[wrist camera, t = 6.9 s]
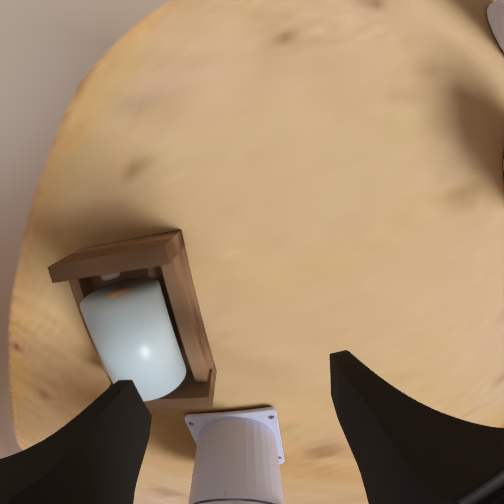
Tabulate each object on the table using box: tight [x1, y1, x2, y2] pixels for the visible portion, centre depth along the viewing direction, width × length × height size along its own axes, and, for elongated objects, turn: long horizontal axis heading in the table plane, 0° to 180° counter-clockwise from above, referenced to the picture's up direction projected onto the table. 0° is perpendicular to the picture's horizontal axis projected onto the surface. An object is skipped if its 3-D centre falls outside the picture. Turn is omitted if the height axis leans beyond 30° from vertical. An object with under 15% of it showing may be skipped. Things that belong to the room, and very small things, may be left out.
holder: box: [48, 230, 216, 409], centre depth 17 cm, size 11×8×4 cm
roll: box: [80, 277, 186, 401], centre depth 16 cm, size 6×5×5 cm
